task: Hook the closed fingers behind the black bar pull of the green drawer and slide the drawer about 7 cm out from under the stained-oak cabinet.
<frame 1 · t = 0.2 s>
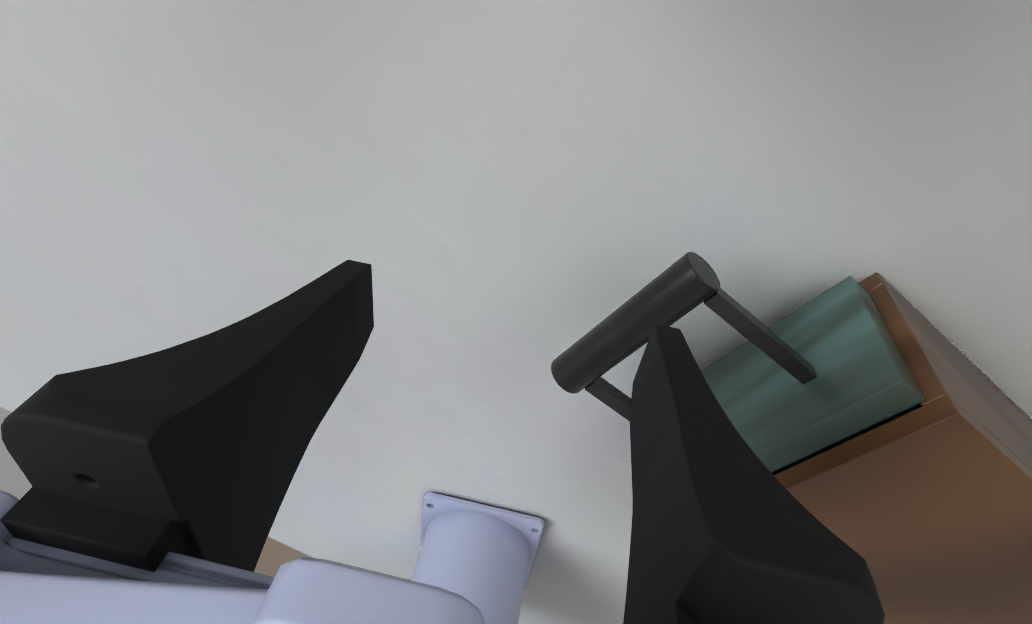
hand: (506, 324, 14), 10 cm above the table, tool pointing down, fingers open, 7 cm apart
green drawer: (784, 436, 24), point 4 cm above the table, slide at 0.0 cm
cabinet: (838, 429, 28), on the table
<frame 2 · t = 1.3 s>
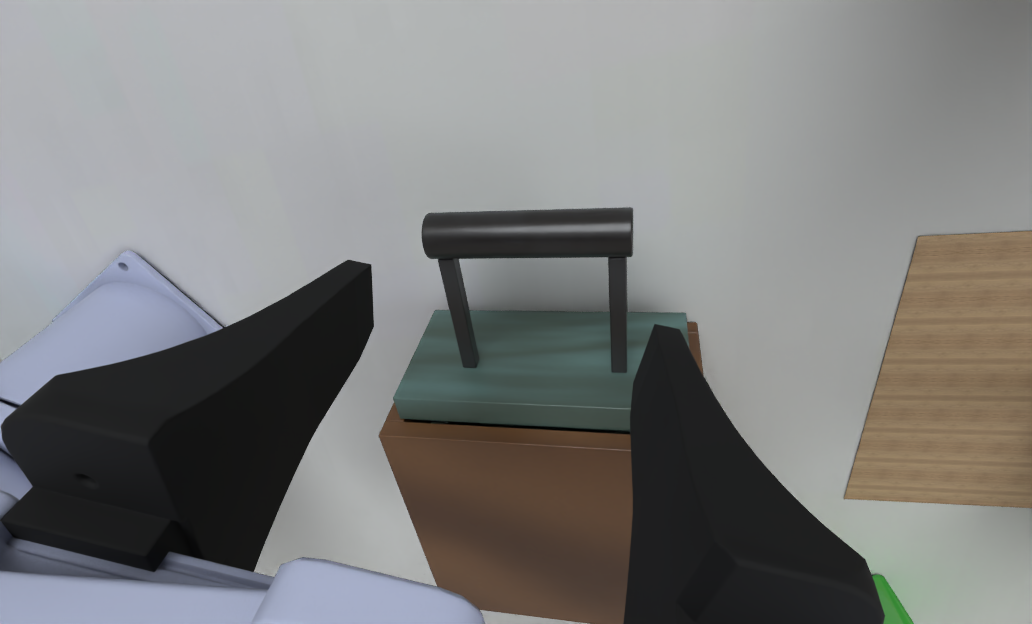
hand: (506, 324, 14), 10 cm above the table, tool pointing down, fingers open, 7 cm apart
fruit basket: (817, 603, 38), on the table
green drawer: (551, 402, 25), point 4 cm above the table, slide at 0.0 cm
cabinet: (568, 418, 31), on the table
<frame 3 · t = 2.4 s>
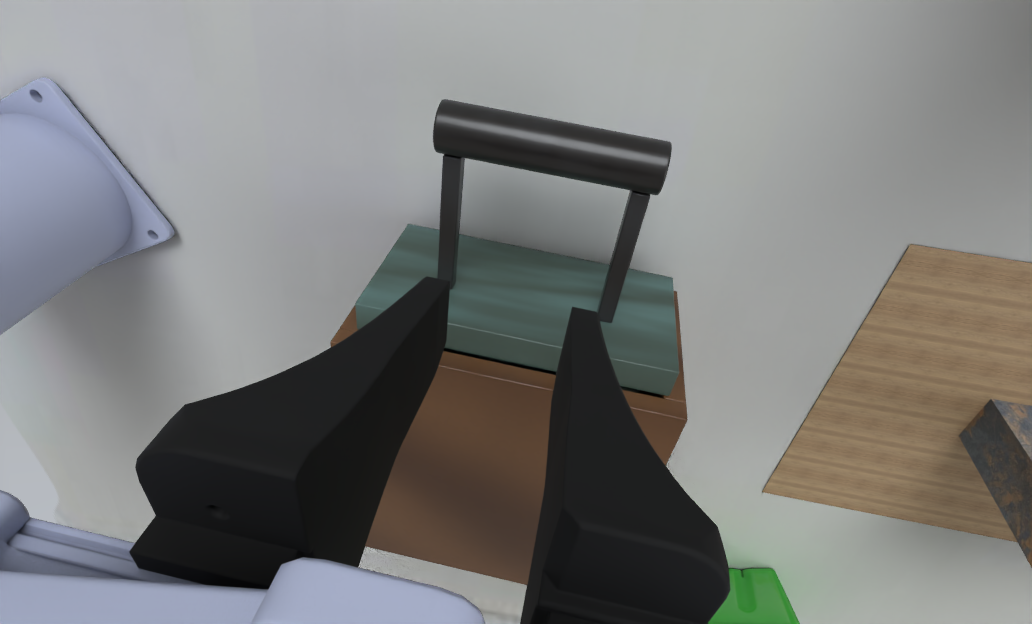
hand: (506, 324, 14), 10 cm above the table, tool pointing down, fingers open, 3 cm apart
fruit basket: (707, 588, 40), on the table
green drawer: (518, 344, 24), point 4 cm above the table, slide at 0.0 cm
cabinet: (518, 369, 30), on the table
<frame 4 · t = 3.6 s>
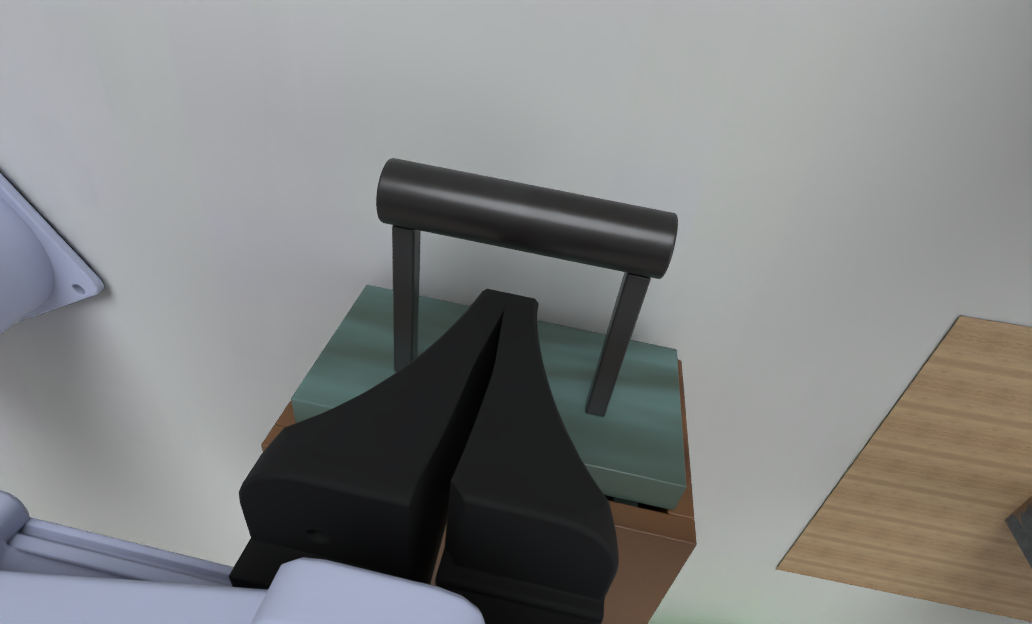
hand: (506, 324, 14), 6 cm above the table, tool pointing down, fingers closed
green drawer: (495, 428, 20), point 4 cm above the table, slide at 0.0 cm
cabinet: (500, 437, 26), on the table
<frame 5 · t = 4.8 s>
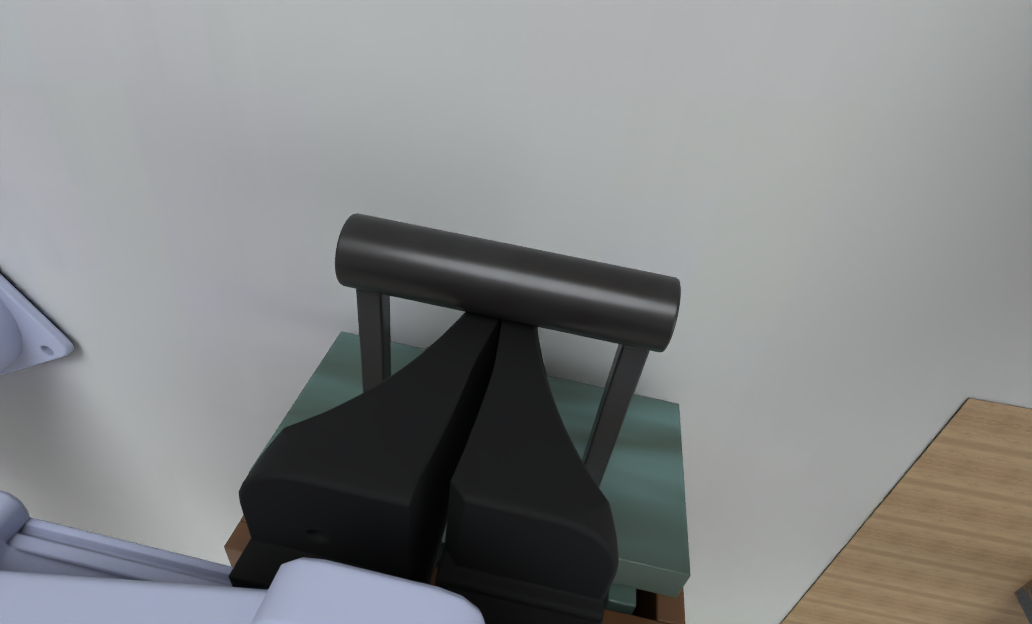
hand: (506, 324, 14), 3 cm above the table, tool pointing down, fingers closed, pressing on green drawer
green drawer: (480, 490, 18), point 4 cm above the table, slide at 1.1 cm, touching gripper
cabinet: (487, 499, 25), on the table
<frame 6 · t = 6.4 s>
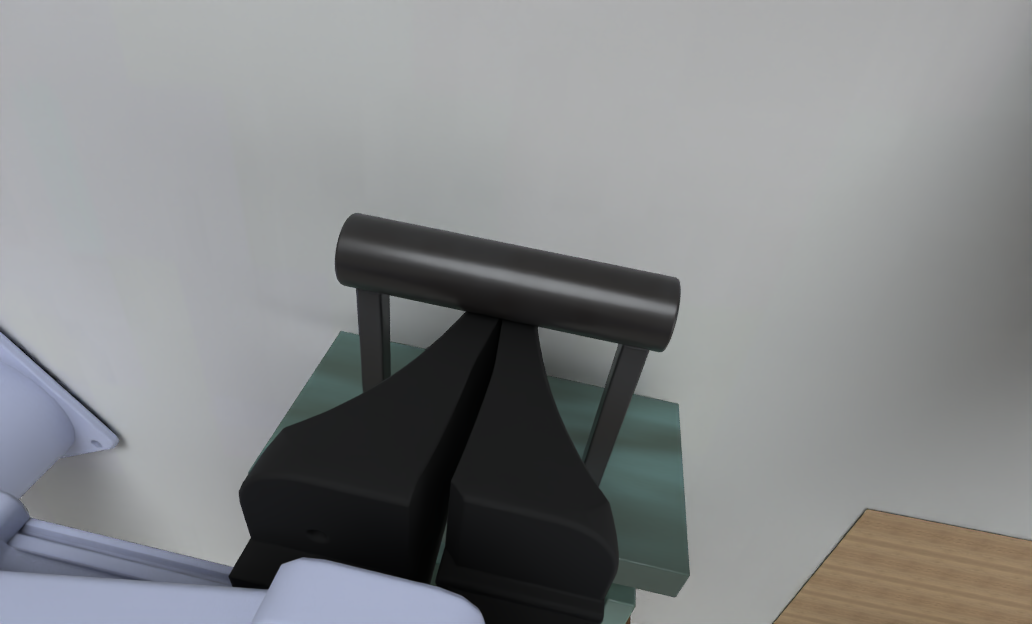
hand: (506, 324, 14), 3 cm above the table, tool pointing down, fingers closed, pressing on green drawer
green drawer: (479, 490, 18), point 4 cm above the table, slide at 7.2 cm, touching gripper
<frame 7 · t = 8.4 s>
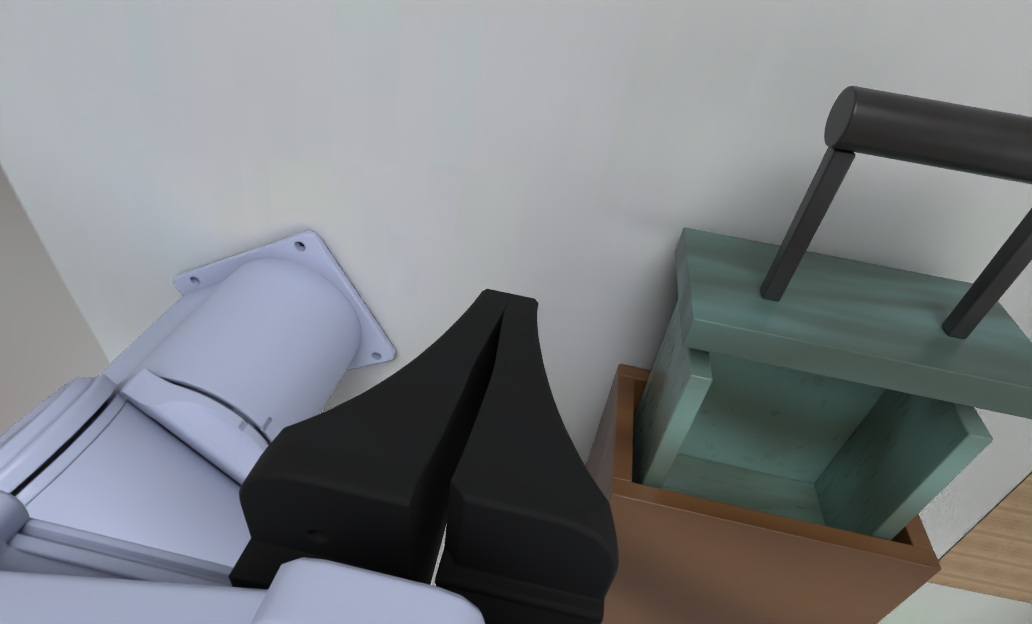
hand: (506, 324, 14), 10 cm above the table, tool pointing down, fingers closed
green drawer: (816, 360, 21), point 4 cm above the table, slide at 7.2 cm
cabinet: (702, 473, 32), on the table
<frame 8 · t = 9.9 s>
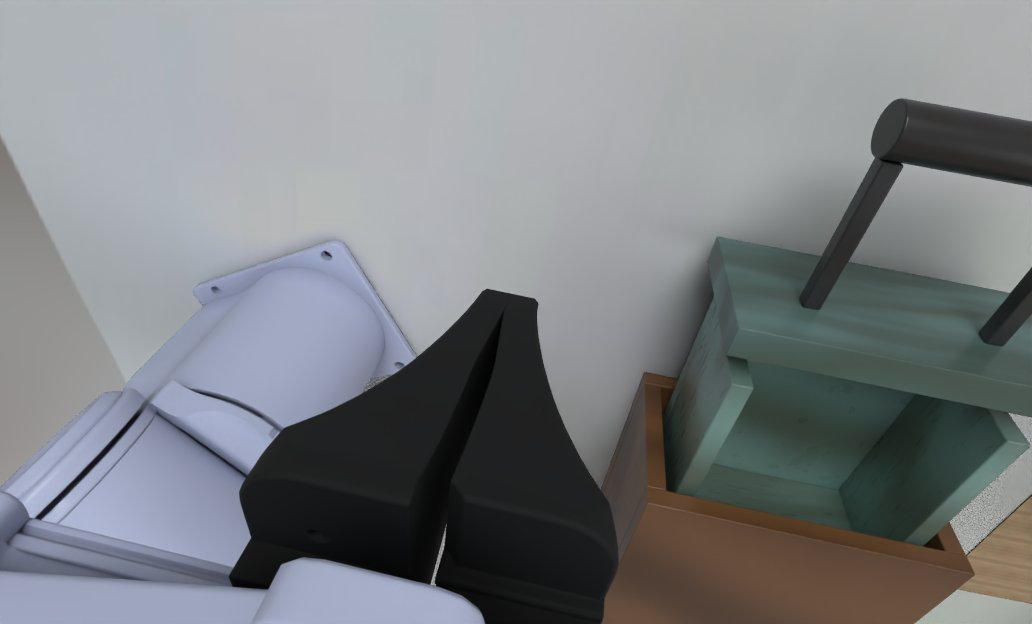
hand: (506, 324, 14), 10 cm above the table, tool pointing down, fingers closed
green drawer: (850, 367, 22), point 4 cm above the table, slide at 7.2 cm
cabinet: (723, 480, 32), on the table
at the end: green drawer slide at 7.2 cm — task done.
